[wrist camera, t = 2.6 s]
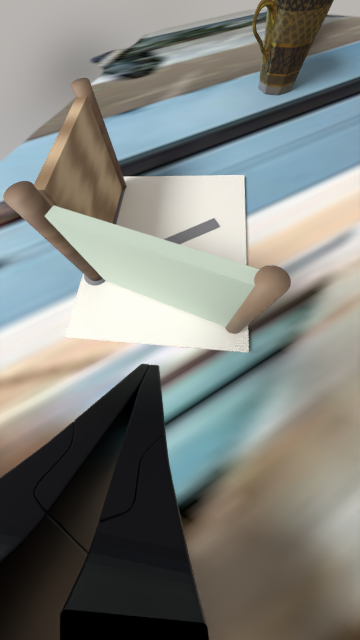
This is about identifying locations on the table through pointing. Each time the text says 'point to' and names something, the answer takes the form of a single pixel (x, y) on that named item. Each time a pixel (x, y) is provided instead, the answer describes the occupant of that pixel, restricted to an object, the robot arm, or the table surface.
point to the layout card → (178, 227)
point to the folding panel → (173, 271)
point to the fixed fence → (73, 176)
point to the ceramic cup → (287, 40)
